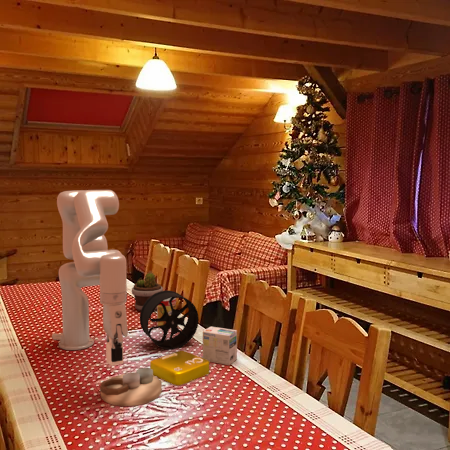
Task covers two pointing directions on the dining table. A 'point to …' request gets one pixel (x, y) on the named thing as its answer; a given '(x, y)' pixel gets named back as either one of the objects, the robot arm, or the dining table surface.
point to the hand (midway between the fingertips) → (114, 357)
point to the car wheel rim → (170, 320)
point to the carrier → (131, 388)
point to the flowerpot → (145, 290)
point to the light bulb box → (220, 345)
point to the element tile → (179, 367)
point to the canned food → (161, 311)
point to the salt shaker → (108, 353)
